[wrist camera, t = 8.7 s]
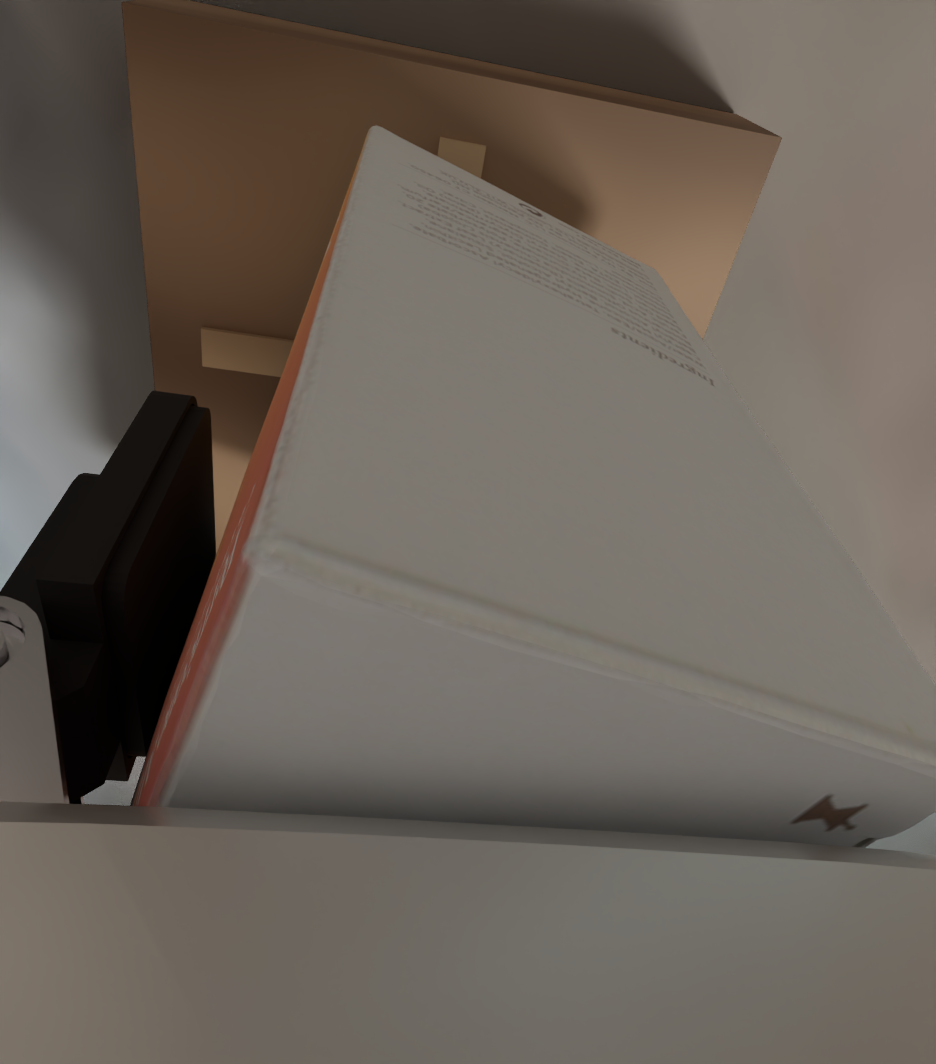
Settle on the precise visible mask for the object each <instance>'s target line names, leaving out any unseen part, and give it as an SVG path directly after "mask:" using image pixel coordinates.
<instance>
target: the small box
mask: <svg viewBox="0 0 936 1064" xmlns="http://www.w3.org/2000/svg"><path fill="white" fill-rule="evenodd" d="M130 806H148V807H169V808H189V809H209V810H228V811H248V812H268V813H287V814H307V815H327V816H346V817H366V818H385V819H403V820H421V821H439V822H457V823H475V824H493V825H511V826H528V827H546V828H564V829H581V830H599V831H616V832H632V833H648V834H665V835H681V836H697V837H714V838H730V839H746V840H762V841H779V842H794V843H807V844H819V845H832V846H845V847H857V848H865V847H867V846H869V845H870V844H872V843H873V842H875V841H876V840H878V839H882V838H887V837H893V836H895V835H897V834H899V833H901V832H903V831H905V830H907V829H909V828H911V827H913V826H914V825H916V824H917V823H919V822H921V821H922V820H924V819H925V818H927V817H928V816H930V815H931V814H933V813H934V812H936V685H935V684H934V682H933V680H932V679H931V677H930V676H929V675H928V673H927V672H926V670H925V669H924V668H923V666H922V665H921V663H920V662H919V661H918V659H917V658H916V656H915V655H914V653H913V652H912V650H911V649H910V647H909V646H908V644H907V642H906V641H905V639H904V638H903V636H902V635H901V633H900V632H899V630H898V629H897V627H896V626H895V624H894V623H893V621H892V620H891V618H890V617H889V615H888V614H887V612H886V611H885V609H884V608H883V606H882V605H881V603H880V602H879V600H878V599H877V597H876V596H875V594H874V593H873V591H872V590H871V588H870V587H869V585H868V584H867V582H866V580H865V579H864V577H863V576H862V574H861V573H860V571H859V570H858V568H857V567H856V565H855V564H854V562H853V561H852V559H851V558H850V557H849V555H848V554H847V552H846V551H845V549H844V548H843V546H842V545H841V544H840V542H839V541H838V539H837V538H836V536H835V535H834V533H833V532H832V530H831V529H830V527H829V526H828V525H827V523H826V522H825V520H824V519H823V517H822V516H821V514H820V513H819V511H818V510H817V509H816V507H815V506H814V504H813V503H812V502H811V500H810V499H809V497H808V496H807V494H806V493H805V491H804V490H803V488H802V487H801V485H800V484H799V483H798V481H797V480H796V478H795V477H794V475H793V474H792V473H791V471H790V470H789V469H788V467H787V465H786V464H785V462H784V461H783V459H782V458H781V456H780V455H779V453H778V451H777V450H776V448H775V447H774V446H773V444H772V443H771V441H770V440H769V438H768V437H767V435H766V434H765V433H764V431H763V430H762V428H761V427H760V425H759V424H758V422H757V421H756V420H755V418H754V417H753V415H752V414H751V412H750V411H749V409H748V407H747V406H746V404H745V403H744V402H743V400H742V399H741V398H740V396H739V395H738V393H737V392H736V390H735V389H734V387H733V386H732V384H731V383H730V381H729V380H728V378H727V377H726V375H725V374H724V372H723V370H722V369H721V367H720V365H719V364H718V362H717V361H716V360H715V358H714V357H713V355H712V353H711V352H710V350H709V349H708V347H707V346H706V344H705V343H704V341H703V340H702V338H701V337H700V335H699V334H698V332H697V331H696V330H695V328H694V326H693V325H692V323H691V322H690V320H689V319H688V317H687V316H686V315H685V313H684V311H683V310H682V308H681V307H680V305H679V304H678V302H677V300H676V299H675V297H674V296H673V295H672V293H671V292H670V290H669V288H668V286H667V285H666V284H665V282H664V281H663V279H662V278H661V276H660V275H659V274H658V272H657V271H656V270H655V269H654V268H652V267H650V266H648V265H646V264H644V263H642V262H640V261H637V260H635V259H633V258H631V257H629V256H627V255H626V254H624V253H622V252H620V251H618V250H616V249H614V248H612V247H610V246H609V245H607V244H605V243H603V242H601V241H599V240H597V239H595V238H593V237H591V236H590V235H588V234H586V233H584V232H582V231H580V230H578V229H576V228H574V227H572V226H570V225H568V224H566V223H564V222H563V221H561V220H559V219H557V218H555V217H553V216H551V215H549V214H547V213H545V212H543V211H541V210H539V209H538V208H536V207H534V206H532V205H530V204H528V203H526V202H524V201H522V200H520V199H519V198H517V197H515V196H513V195H511V194H509V193H507V192H505V191H503V190H501V189H500V188H498V187H496V186H494V185H492V184H490V183H488V182H486V181H484V180H482V179H480V178H478V177H476V176H475V175H473V174H471V173H469V172H467V171H465V170H463V169H461V168H459V167H457V166H455V165H453V164H451V163H449V162H447V161H445V160H444V159H442V158H440V157H438V156H436V155H434V154H432V153H430V152H428V151H426V150H424V149H422V148H420V147H418V146H416V145H414V144H412V143H410V142H408V141H406V140H404V139H402V138H400V137H399V136H397V135H395V134H393V133H391V132H390V131H388V130H386V129H384V128H382V127H380V126H377V125H376V126H372V127H371V128H370V129H369V131H368V133H367V136H366V138H365V142H364V145H363V148H362V151H361V154H360V157H359V160H358V163H357V165H356V168H355V171H354V174H353V177H352V179H351V182H350V185H349V188H348V191H347V194H346V196H345V199H344V202H343V205H342V208H341V210H340V213H339V216H338V219H337V222H336V225H335V227H334V230H333V233H332V236H331V239H330V241H329V244H328V247H327V250H326V253H325V256H324V258H323V261H322V264H321V267H320V270H319V272H318V275H317V278H316V281H315V284H314V287H313V289H312V292H311V295H310V298H309V301H308V303H307V306H306V309H305V312H304V315H303V317H302V320H301V323H300V326H299V329H298V331H297V334H296V337H295V340H294V343H293V345H292V348H291V351H290V354H289V357H288V359H287V362H286V365H285V368H284V370H283V373H282V376H281V378H280V381H279V384H278V386H277V389H276V392H275V394H274V397H273V400H272V402H271V405H270V408H269V410H268V413H267V416H266V418H265V421H264V424H263V426H262V429H261V432H260V434H259V437H258V440H257V442H256V445H255V448H254V450H253V453H252V456H251V458H250V461H249V464H248V467H247V469H246V472H245V475H244V478H243V481H242V483H241V486H240V489H239V492H238V495H237V498H236V501H235V504H234V506H233V509H232V512H231V515H230V518H229V521H228V523H227V526H226V529H225V532H224V535H223V538H222V540H221V543H220V546H219V549H218V552H217V555H216V558H215V560H214V563H213V566H212V569H211V572H210V575H209V577H208V580H207V583H206V586H205V589H204V591H203V594H202V597H201V600H200V603H199V605H198V608H197V611H196V614H195V617H194V619H193V622H192V625H191V628H190V631H189V633H188V636H187V639H186V642H185V645H184V647H183V650H182V653H181V656H180V659H179V661H178V664H177V667H176V670H175V673H174V675H173V678H172V681H171V684H170V686H169V689H168V692H167V695H166V698H165V701H164V704H163V707H162V710H161V713H160V716H159V719H158V722H157V725H156V728H155V731H154V734H153V737H152V740H151V743H150V747H149V750H148V753H147V756H146V759H145V762H144V765H143V768H142V771H141V774H140V777H139V780H138V783H137V786H136V789H135V792H134V795H133V798H132V801H131V805H130Z"/></svg>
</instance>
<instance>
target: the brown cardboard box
mask: <svg viewBox="0 0 936 1064" xmlns="http://www.w3.org/2000/svg"><path fill="white" fill-rule="evenodd" d="M122 13H123V25H124V36H125V48H126V60H127V71H128V83H129V95H130V106H131V118H132V129H133V141H134V153H135V164H136V176H137V188H138V199H139V211H140V223H141V234H142V246H143V257H144V269H145V281H146V292H147V304H148V316H149V327H150V339H151V350H152V362H153V374H154V385H155V391H161V392H169V393H176V394H183V395H191V396H195V398H196V400H197V404H198V407H205V408H209V409H210V413H211V429H212V456H213V482H214V509H215V535H216V555H217V552H218V549H219V546H220V543H221V540H222V538H223V535H224V532H225V529H226V526H227V523H228V521H229V518H230V515H231V512H232V509H233V506H234V504H235V501H236V498H237V495H238V492H239V489H240V486H241V483H242V481H243V478H244V475H245V472H246V469H247V467H248V464H249V461H250V458H251V456H252V453H253V450H254V448H255V445H256V442H257V440H258V437H259V434H260V432H261V429H262V426H263V424H264V421H265V418H266V416H267V413H268V410H269V408H270V405H271V402H272V400H273V397H274V394H275V392H276V389H277V386H278V384H279V381H280V378H281V376H282V373H283V370H284V368H285V365H286V362H287V359H288V357H289V354H290V351H291V348H292V345H293V343H294V340H295V337H296V334H297V331H298V329H299V326H300V323H301V320H302V317H303V315H304V312H305V309H306V306H307V303H308V301H309V298H310V295H311V292H312V289H313V287H314V284H315V281H316V278H317V275H318V272H319V270H320V267H321V264H322V261H323V258H324V256H325V253H326V250H327V247H328V244H329V241H330V239H331V236H332V233H333V230H334V227H335V225H336V222H337V219H338V216H339V213H340V210H341V208H342V205H343V202H344V199H345V196H346V194H347V191H348V188H349V185H350V182H351V179H352V177H353V174H354V171H355V168H356V165H357V163H358V160H359V157H360V154H361V151H362V148H363V145H364V142H365V138H366V136H367V133H368V131H369V129H370V128H371V127H372V126H376V125H377V126H380V127H382V128H384V129H386V130H388V131H390V132H391V133H393V134H395V135H397V136H399V137H400V138H402V139H404V140H406V141H408V142H410V143H412V144H414V145H416V146H418V147H420V148H422V149H424V150H426V151H428V152H430V153H432V154H434V155H436V156H438V157H440V158H442V159H444V160H445V161H447V162H449V163H451V164H453V165H455V166H457V167H459V168H461V169H463V170H465V171H467V172H469V173H471V174H473V175H475V176H476V177H478V178H480V179H482V180H484V181H486V182H488V183H490V184H492V185H494V186H496V187H498V188H500V189H501V190H503V191H505V192H507V193H509V194H511V195H513V196H515V197H517V198H519V199H520V200H522V201H524V202H526V203H528V204H530V205H532V206H534V207H536V208H538V209H539V210H541V211H543V212H545V213H547V214H549V215H551V216H553V217H555V218H557V219H559V220H561V221H563V222H564V223H566V224H568V225H570V226H572V227H574V228H576V229H578V230H580V231H582V232H584V233H586V234H588V235H590V236H591V237H593V238H595V239H597V240H599V241H601V242H603V243H605V244H607V245H609V246H610V247H612V248H614V249H616V250H618V251H620V252H622V253H624V254H626V255H627V256H629V257H631V258H633V259H635V260H637V261H640V262H642V263H644V264H646V265H648V266H650V267H652V268H654V269H655V270H656V271H657V272H658V274H659V275H660V276H661V278H662V279H663V281H664V282H665V284H666V285H667V286H668V288H669V290H670V292H671V293H672V295H673V296H674V297H675V299H676V300H677V302H678V304H679V305H680V307H681V308H682V310H683V311H684V313H685V315H686V316H687V317H688V319H689V320H690V322H691V323H692V325H693V326H694V328H695V330H696V331H697V332H698V334H699V335H700V337H701V338H702V340H703V338H704V335H705V333H706V330H707V328H708V325H709V322H710V320H711V317H712V315H713V312H714V310H715V307H716V305H717V302H718V300H719V297H720V295H721V292H722V289H723V287H724V284H725V282H726V279H727V277H728V274H729V272H730V269H731V267H732V264H733V261H734V259H735V256H736V254H737V251H738V249H739V246H740V244H741V241H742V239H743V236H744V233H745V231H746V228H747V226H748V223H749V221H750V218H751V216H752V213H753V211H754V208H755V205H756V203H757V200H758V198H759V195H760V193H761V190H762V188H763V185H764V183H765V180H766V178H767V175H768V172H769V170H770V167H771V165H772V162H773V160H774V157H775V155H776V152H777V150H778V147H779V144H780V142H781V139H782V138H781V137H780V136H778V135H776V134H774V133H772V132H770V131H768V130H766V129H764V128H762V127H760V126H758V125H756V124H754V123H752V122H750V121H749V120H747V119H745V118H743V117H741V116H739V115H737V114H733V113H728V112H723V111H718V110H714V109H709V108H704V107H699V106H694V105H690V104H685V103H680V102H675V101H670V100H666V99H661V98H656V97H651V96H646V95H642V94H637V93H632V92H627V91H622V90H618V89H613V88H608V87H603V86H598V85H594V84H589V83H584V82H579V81H574V80H569V79H565V78H560V77H555V76H550V75H545V74H541V73H536V72H531V71H526V70H521V69H517V68H512V67H507V66H502V65H497V64H493V63H488V62H483V61H478V60H473V59H469V58H464V57H459V56H454V55H449V54H445V53H440V52H435V51H430V50H425V49H421V48H416V47H411V46H406V45H401V44H397V43H392V42H387V41H382V40H377V39H373V38H368V37H363V36H358V35H353V34H349V33H344V32H339V31H334V30H329V29H325V28H320V27H315V26H310V25H305V24H301V23H296V22H291V21H286V20H281V19H277V18H272V17H267V16H262V15H257V14H253V13H248V12H243V11H238V10H233V9H229V8H224V7H219V6H214V5H209V4H204V3H200V2H195V1H190V0H132V1H126V2H122Z"/></svg>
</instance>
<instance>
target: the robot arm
mask: <svg viewBox="0 0 936 1064" xmlns="http://www.w3.org/2000/svg"><path fill="white" fill-rule="evenodd" d="M215 558H216V535H215V509H214V482H213V456H212V429H211V413H210V409H209V408H205V407H198V404H197V400H196V398H195V396H191V395H183V394H176V393H169V392H161V391H152V392H151V393H150V394H149V396H148V398H147V399H146V401H145V403H144V404H143V406H142V407H141V409H140V411H139V412H138V414H137V416H136V417H135V419H134V420H133V422H132V424H131V425H130V427H129V429H128V430H127V432H126V433H125V435H124V437H123V438H122V440H121V442H120V443H119V445H118V446H117V448H116V450H115V451H114V453H113V455H112V456H111V458H110V459H109V461H108V463H107V464H106V466H105V468H104V469H103V471H102V472H101V474H100V475H98V474H89V473H83V474H80V475H78V476H77V477H76V479H75V480H74V481H73V482H72V484H71V485H70V487H69V488H68V490H67V491H66V493H65V494H64V496H63V497H62V499H61V500H60V502H59V503H58V505H57V506H56V508H55V509H54V511H53V512H52V514H51V515H50V517H49V519H48V520H47V522H46V523H45V525H44V526H43V528H42V529H41V531H40V532H39V534H38V535H37V537H36V538H35V540H34V541H33V543H32V544H31V546H30V547H29V549H28V550H27V552H26V553H25V555H24V557H23V558H22V560H21V561H20V563H19V564H18V566H17V567H16V569H15V570H14V572H13V573H12V575H11V576H10V578H9V579H8V581H7V582H6V584H5V585H4V587H3V588H2V590H1V591H0V1064H936V812H934V813H933V814H931V815H930V816H928V817H927V818H925V819H924V820H922V821H921V822H919V823H917V824H916V825H914V826H913V827H911V828H909V829H907V830H905V831H903V832H901V833H899V834H897V835H895V836H893V837H887V838H882V839H878V840H876V841H875V842H873V843H872V844H870V845H869V846H867V847H865V848H857V847H845V846H832V845H819V844H807V843H794V842H779V841H762V840H746V839H730V838H714V837H697V836H681V835H665V834H648V833H632V832H616V831H599V830H581V829H564V828H546V827H528V826H511V825H493V824H475V823H457V822H439V821H421V820H403V819H385V818H366V817H346V816H327V815H307V814H287V813H268V812H248V811H228V810H209V809H189V808H169V807H148V806H119V805H91V804H84V799H83V796H84V795H86V794H88V793H89V792H91V791H93V790H94V789H96V788H98V787H99V786H101V785H103V784H104V783H105V780H116V781H128V779H129V776H130V773H131V771H132V768H133V765H134V762H135V759H136V757H137V756H142V757H146V756H147V753H148V750H149V747H150V743H151V740H152V737H153V734H154V731H155V728H156V725H157V722H158V719H159V716H160V713H161V710H162V707H163V704H164V701H165V698H166V695H167V692H168V689H169V686H170V684H171V681H172V678H173V675H174V673H175V670H176V667H177V664H178V661H179V659H180V656H181V653H182V650H183V647H184V645H185V642H186V639H187V636H188V633H189V631H190V628H191V625H192V622H193V619H194V617H195V614H196V611H197V608H198V605H199V603H200V600H201V597H202V594H203V591H204V589H205V586H206V583H207V580H208V577H209V575H210V572H211V569H212V566H213V563H214V560H215Z"/></svg>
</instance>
